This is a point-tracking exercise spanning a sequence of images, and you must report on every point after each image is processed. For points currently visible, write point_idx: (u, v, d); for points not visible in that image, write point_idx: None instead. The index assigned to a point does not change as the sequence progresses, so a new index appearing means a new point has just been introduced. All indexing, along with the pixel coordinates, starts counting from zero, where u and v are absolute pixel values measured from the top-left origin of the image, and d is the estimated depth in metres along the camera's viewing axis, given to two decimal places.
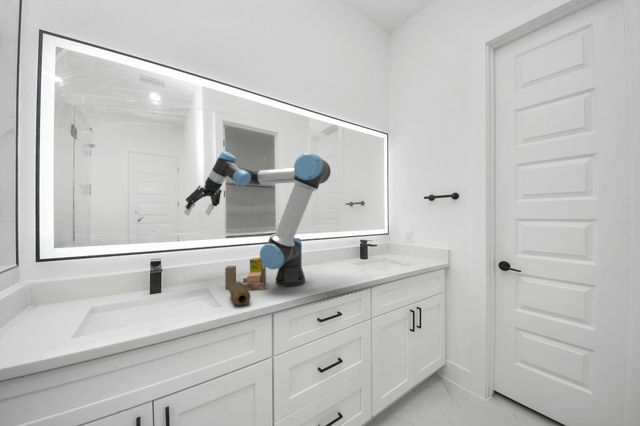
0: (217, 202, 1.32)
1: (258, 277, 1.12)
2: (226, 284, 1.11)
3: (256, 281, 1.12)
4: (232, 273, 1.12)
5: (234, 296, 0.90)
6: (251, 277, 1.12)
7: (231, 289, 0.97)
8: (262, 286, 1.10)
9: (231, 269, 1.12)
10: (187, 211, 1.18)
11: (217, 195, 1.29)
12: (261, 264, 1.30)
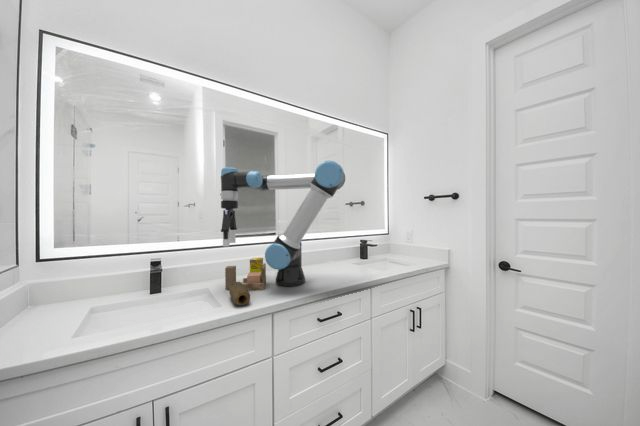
0: (235, 225, 1.23)
1: (258, 277, 1.12)
2: (226, 284, 1.11)
3: (256, 281, 1.12)
4: (232, 273, 1.12)
5: (234, 296, 0.90)
6: (251, 277, 1.12)
7: (231, 289, 0.97)
8: (262, 286, 1.10)
9: (231, 269, 1.12)
10: (227, 242, 1.07)
11: None
12: (261, 264, 1.30)
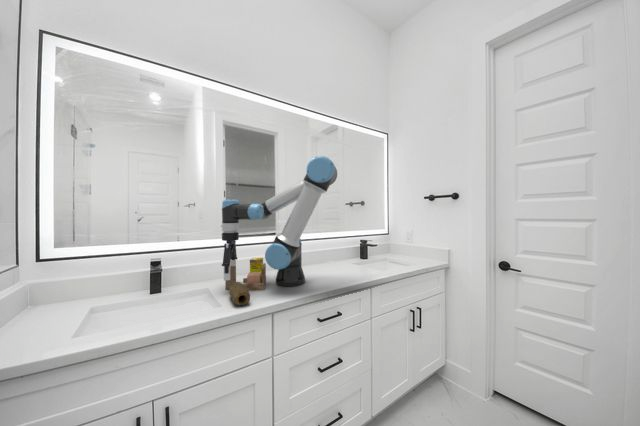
0: (235, 255, 1.22)
1: (258, 277, 1.12)
2: (226, 284, 1.11)
3: (256, 281, 1.12)
4: (232, 273, 1.12)
5: (234, 296, 0.90)
6: (251, 277, 1.12)
7: (230, 289, 0.97)
8: (262, 286, 1.10)
9: (231, 269, 1.12)
10: (227, 276, 1.07)
11: None
12: (261, 264, 1.30)
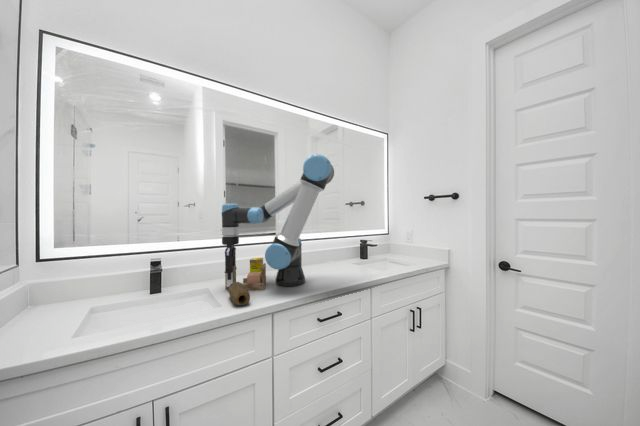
0: (234, 264, 1.19)
1: (258, 277, 1.12)
2: (226, 284, 1.11)
3: (256, 281, 1.12)
4: None
5: (234, 296, 0.90)
6: (251, 277, 1.12)
7: (230, 289, 0.97)
8: (262, 286, 1.10)
9: None
10: (230, 282, 1.11)
11: None
12: (261, 264, 1.30)
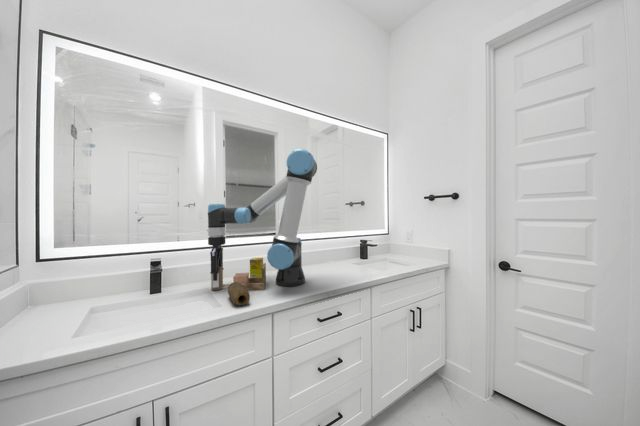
0: (221, 264, 1.18)
1: (245, 278, 1.11)
2: None
3: (242, 282, 1.11)
4: None
5: (234, 296, 0.90)
6: (237, 278, 1.11)
7: (230, 289, 0.96)
8: (262, 286, 1.10)
9: None
10: (216, 283, 1.10)
11: None
12: (261, 264, 1.30)
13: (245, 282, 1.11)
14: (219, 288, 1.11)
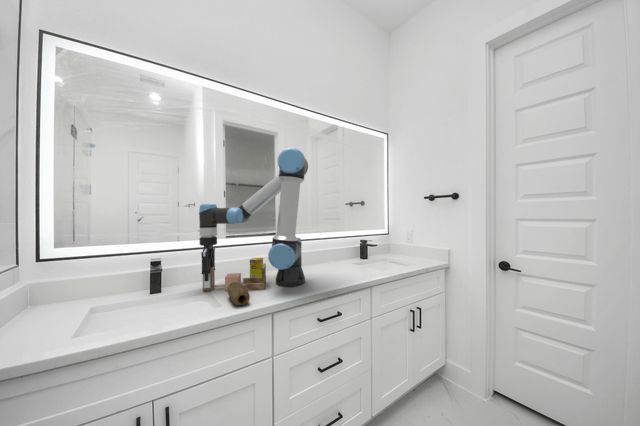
0: (213, 264, 1.17)
1: (236, 278, 1.11)
2: (203, 285, 1.10)
3: None
4: None
5: (233, 296, 0.90)
6: (229, 278, 1.10)
7: (229, 289, 0.96)
8: (262, 286, 1.10)
9: None
10: (207, 283, 1.09)
11: (212, 255, 1.17)
12: (261, 264, 1.30)
13: None
14: (210, 289, 1.10)
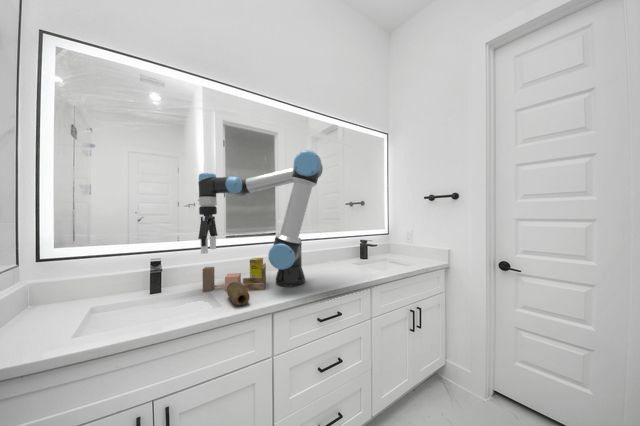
0: (215, 231, 1.21)
1: (236, 278, 1.11)
2: (203, 285, 1.10)
3: None
4: (209, 274, 1.10)
5: (233, 296, 0.90)
6: (229, 278, 1.10)
7: (229, 289, 0.96)
8: (262, 286, 1.10)
9: (208, 270, 1.10)
10: (205, 249, 1.05)
11: None
12: (261, 264, 1.30)
13: None
14: (210, 289, 1.10)
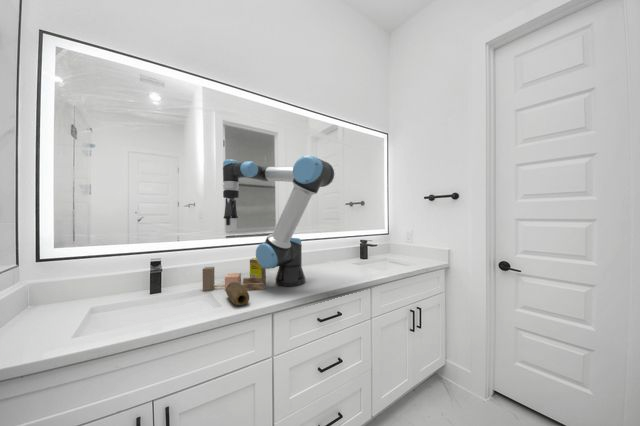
0: (236, 214, 1.32)
1: (236, 278, 1.11)
2: (203, 285, 1.10)
3: None
4: (209, 274, 1.10)
5: (233, 296, 0.90)
6: (229, 278, 1.10)
7: (228, 290, 0.96)
8: (262, 286, 1.10)
9: (208, 270, 1.10)
10: (229, 228, 1.17)
11: None
12: None
13: None
14: (210, 289, 1.10)
